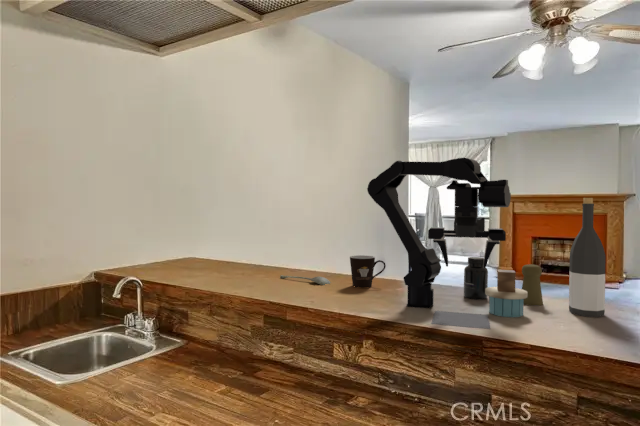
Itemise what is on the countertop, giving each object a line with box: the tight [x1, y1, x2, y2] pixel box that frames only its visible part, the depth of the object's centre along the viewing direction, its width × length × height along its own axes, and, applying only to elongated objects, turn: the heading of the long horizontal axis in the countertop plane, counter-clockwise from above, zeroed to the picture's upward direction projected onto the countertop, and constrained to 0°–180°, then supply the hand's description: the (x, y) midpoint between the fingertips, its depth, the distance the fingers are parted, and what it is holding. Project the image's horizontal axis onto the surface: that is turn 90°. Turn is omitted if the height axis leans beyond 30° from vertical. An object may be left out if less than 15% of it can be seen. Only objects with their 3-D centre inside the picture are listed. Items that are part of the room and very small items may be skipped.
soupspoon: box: [279, 274, 332, 286], centre depth 160 cm, size 22×3×7 cm
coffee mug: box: [349, 254, 386, 288], centre depth 150 cm, size 12×9×10 cm
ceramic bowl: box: [488, 296, 525, 318], centre depth 114 cm, size 8×8×5 cm
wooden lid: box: [485, 269, 528, 299], centre depth 113 cm, size 10×10×6 cm
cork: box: [521, 263, 544, 306], centre depth 126 cm, size 6×6×11 cm
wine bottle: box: [568, 197, 607, 318], centre depth 115 cm, size 8×8×30 cm
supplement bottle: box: [463, 256, 489, 300], centre depth 134 cm, size 7×7×12 cm
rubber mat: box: [430, 310, 491, 330], centre depth 108 cm, size 13×13×1 cm
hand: (465, 267), depth 115 cm, fingers open, 9 cm apart
